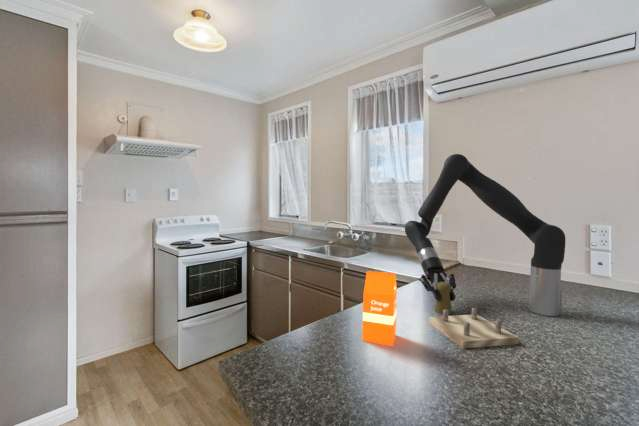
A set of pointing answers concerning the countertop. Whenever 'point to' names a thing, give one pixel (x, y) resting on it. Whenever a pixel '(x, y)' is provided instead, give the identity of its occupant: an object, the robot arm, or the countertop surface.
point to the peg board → (472, 330)
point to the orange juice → (379, 308)
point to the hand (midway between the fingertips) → (446, 300)
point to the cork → (443, 298)
